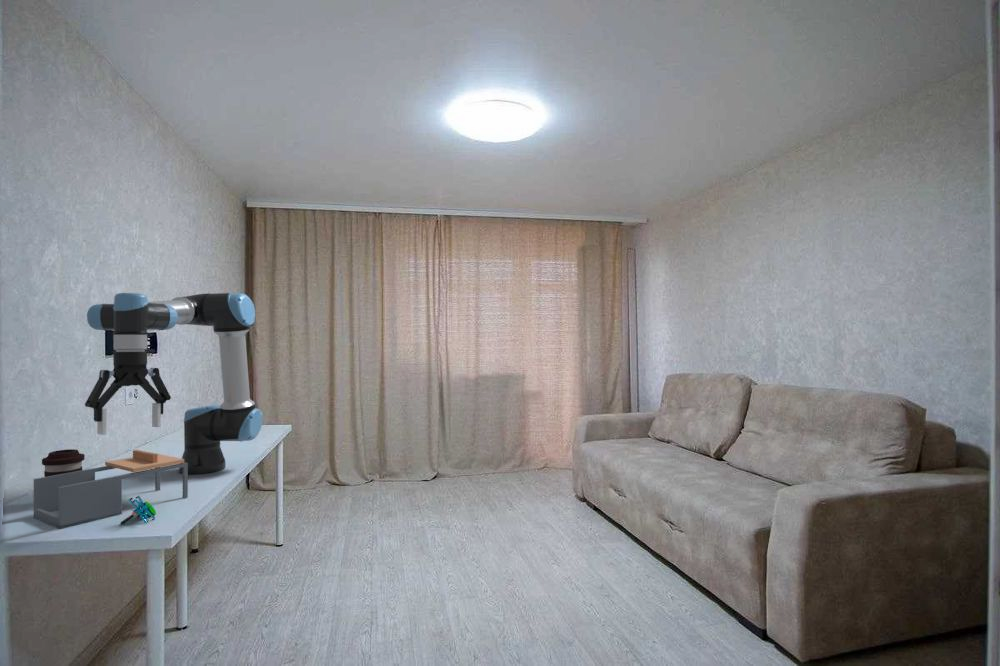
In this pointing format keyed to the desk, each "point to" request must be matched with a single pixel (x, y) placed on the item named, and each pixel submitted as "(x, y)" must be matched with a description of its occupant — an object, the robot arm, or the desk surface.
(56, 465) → the coffee cup
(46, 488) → the housing
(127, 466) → the lid
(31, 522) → the desk surface
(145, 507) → the stick construction toy
